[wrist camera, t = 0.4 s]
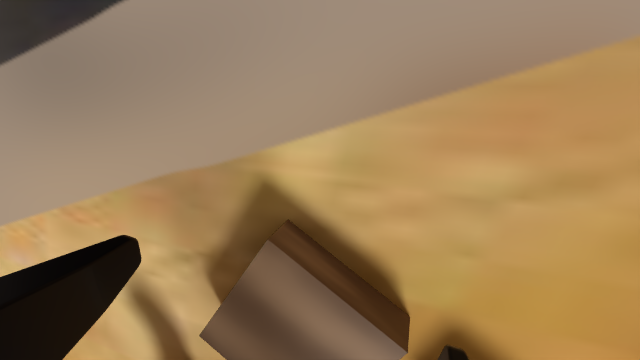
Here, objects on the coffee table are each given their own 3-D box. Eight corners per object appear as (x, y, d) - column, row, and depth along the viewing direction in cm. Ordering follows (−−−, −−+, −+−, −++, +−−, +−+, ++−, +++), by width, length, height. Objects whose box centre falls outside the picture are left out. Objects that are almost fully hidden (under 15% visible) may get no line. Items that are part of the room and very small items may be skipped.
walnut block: (325, 389, 30) (311, 432, 26) (225, 306, 31) (198, 335, 27) (410, 313, 25) (407, 352, 21) (289, 217, 26) (267, 239, 22)
